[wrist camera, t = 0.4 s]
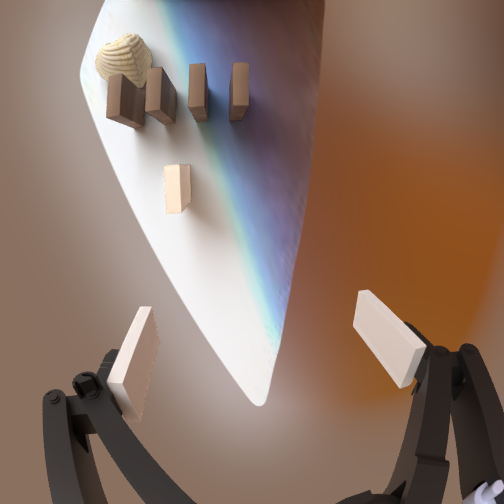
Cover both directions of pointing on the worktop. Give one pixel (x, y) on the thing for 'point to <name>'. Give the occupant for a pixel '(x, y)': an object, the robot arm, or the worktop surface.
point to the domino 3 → (177, 188)
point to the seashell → (125, 59)
